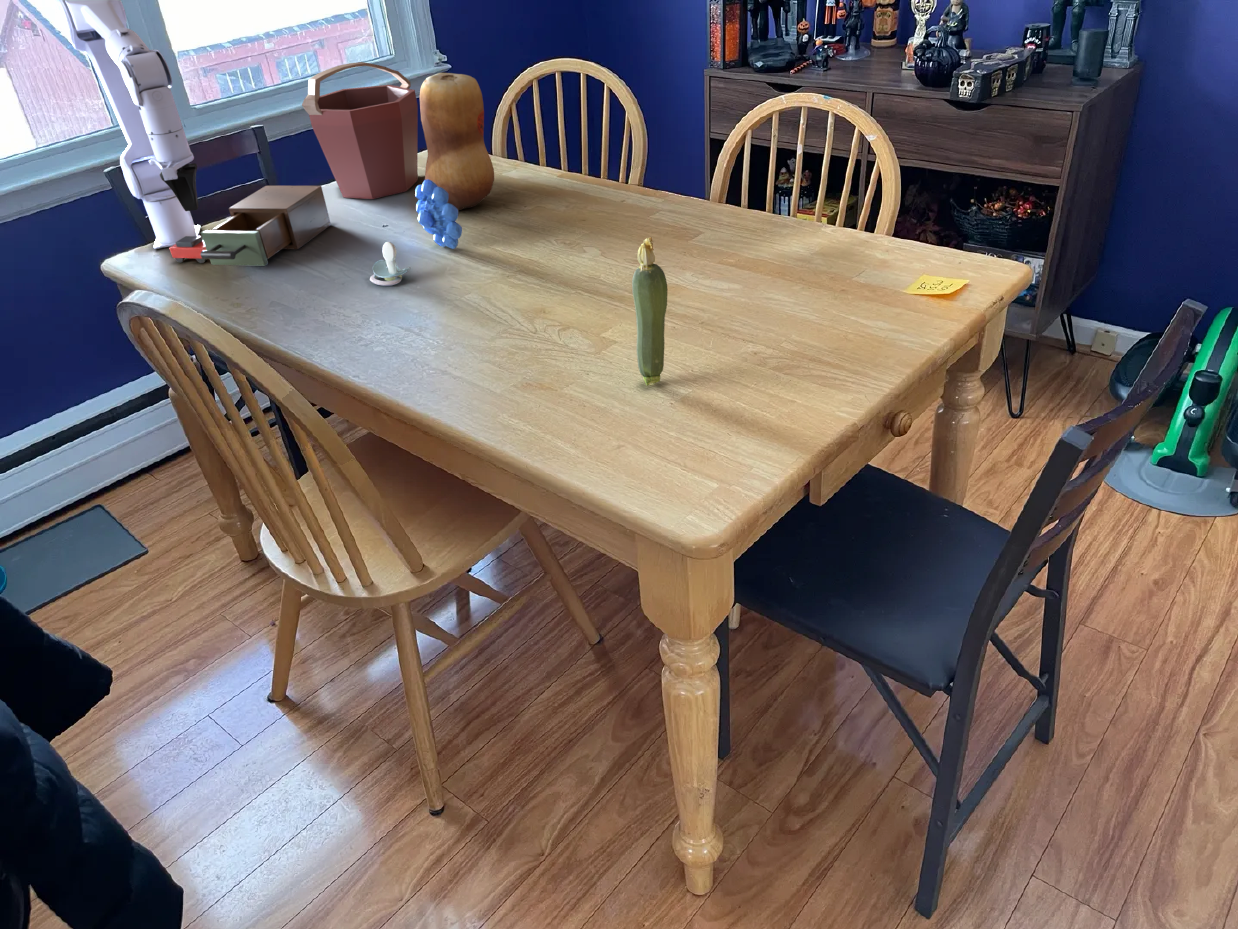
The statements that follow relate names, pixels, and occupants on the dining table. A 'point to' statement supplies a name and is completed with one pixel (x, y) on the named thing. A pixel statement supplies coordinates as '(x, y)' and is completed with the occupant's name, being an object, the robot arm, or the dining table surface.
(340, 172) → the bucket
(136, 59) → the robot arm
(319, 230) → the cabinet
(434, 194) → the grapes
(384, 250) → the pacifier
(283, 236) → the drawer
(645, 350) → the vegetable
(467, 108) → the butternut squash
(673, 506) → the dining table surface
